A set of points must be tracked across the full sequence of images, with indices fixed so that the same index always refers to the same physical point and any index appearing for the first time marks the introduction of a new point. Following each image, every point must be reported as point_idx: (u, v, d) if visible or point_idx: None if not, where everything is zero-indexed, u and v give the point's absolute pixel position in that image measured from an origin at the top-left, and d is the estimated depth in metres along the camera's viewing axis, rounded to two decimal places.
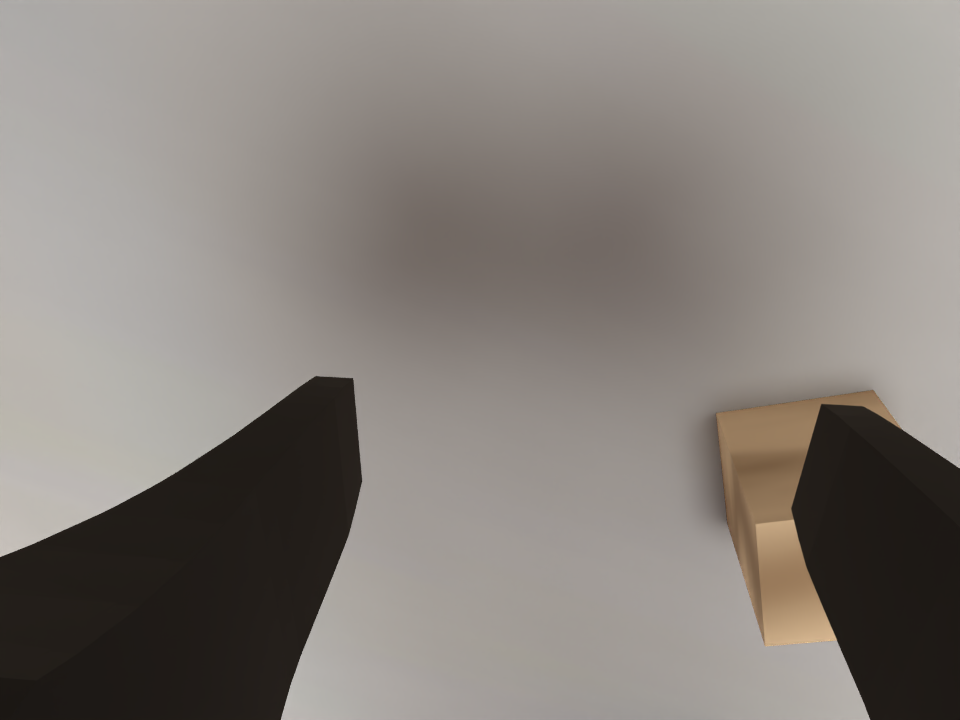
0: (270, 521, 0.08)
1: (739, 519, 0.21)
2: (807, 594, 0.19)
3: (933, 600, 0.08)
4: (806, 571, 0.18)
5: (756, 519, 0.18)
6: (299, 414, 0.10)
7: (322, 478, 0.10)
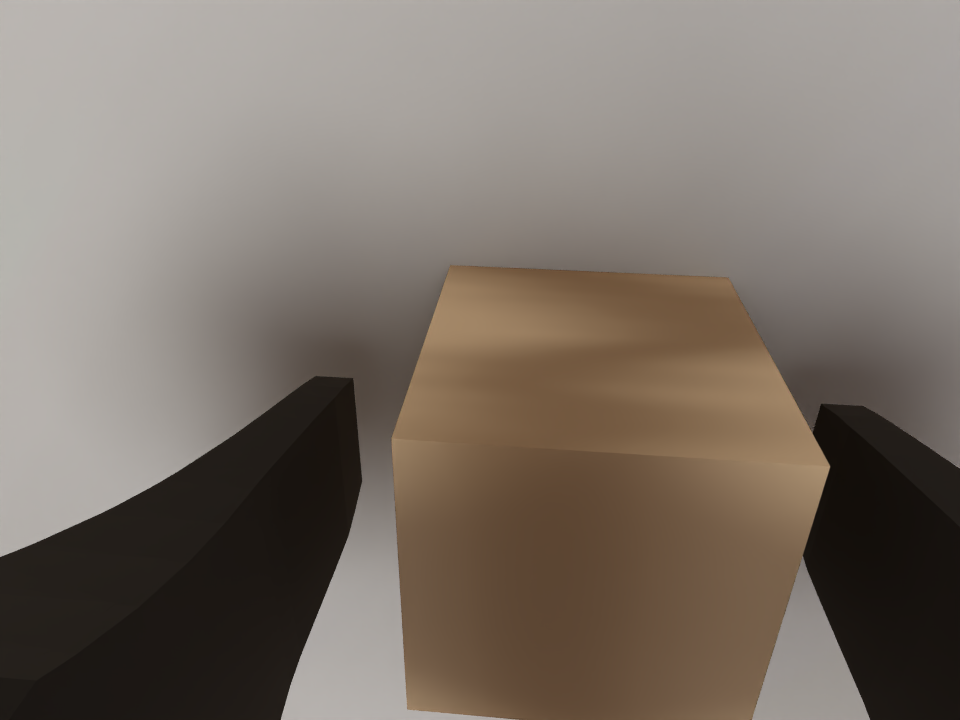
0: (270, 521, 0.08)
1: None
2: (609, 670, 0.09)
3: (933, 600, 0.08)
4: (545, 664, 0.09)
5: (408, 697, 0.10)
6: (299, 414, 0.10)
7: (322, 478, 0.10)
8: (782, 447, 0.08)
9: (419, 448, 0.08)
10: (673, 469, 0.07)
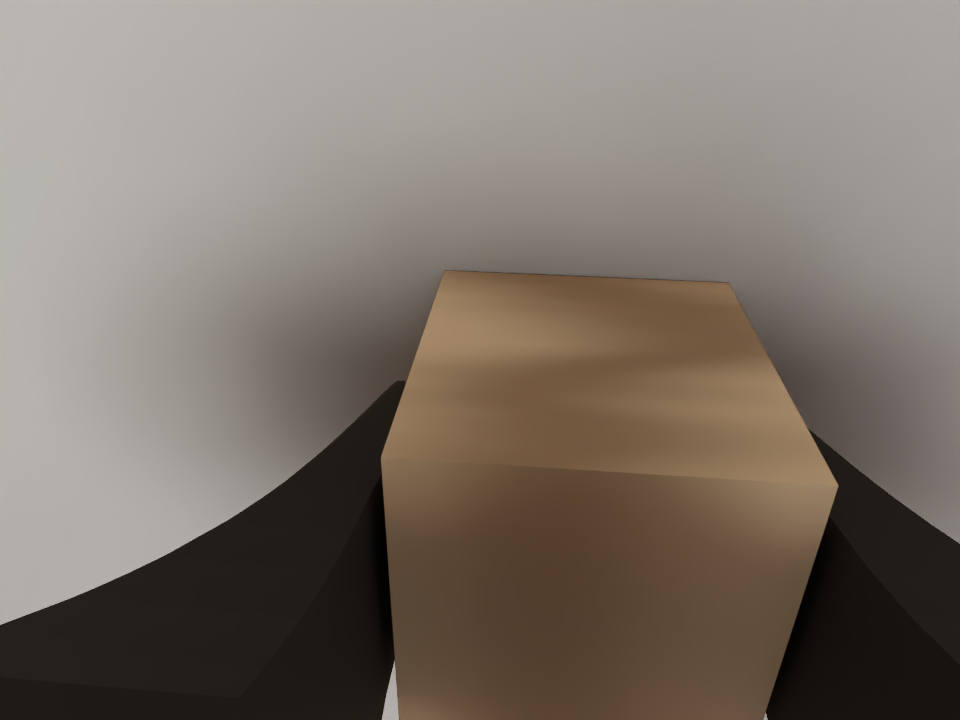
0: (378, 529, 0.08)
1: None
2: (609, 693, 0.09)
3: (811, 591, 0.08)
4: (542, 686, 0.09)
5: None
6: None
7: None
8: (788, 466, 0.07)
9: (410, 467, 0.07)
10: (674, 488, 0.07)
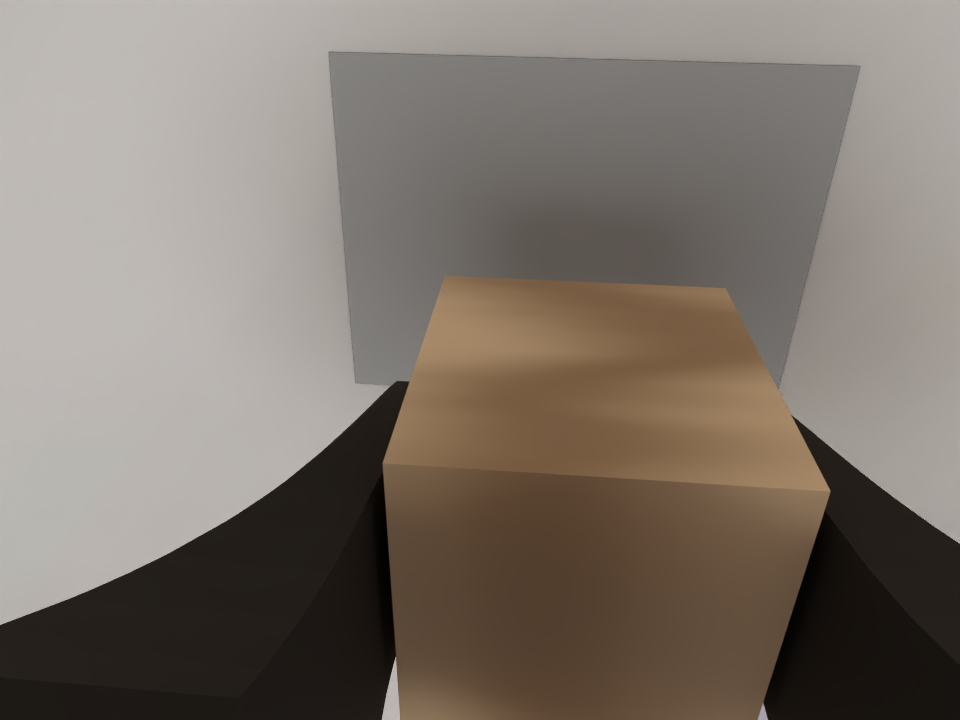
0: (378, 528, 0.08)
1: None
2: (606, 693, 0.09)
3: (811, 591, 0.08)
4: (540, 687, 0.09)
5: (403, 719, 0.10)
6: (394, 419, 0.09)
7: None
8: (782, 471, 0.07)
9: (411, 472, 0.08)
10: (669, 493, 0.07)
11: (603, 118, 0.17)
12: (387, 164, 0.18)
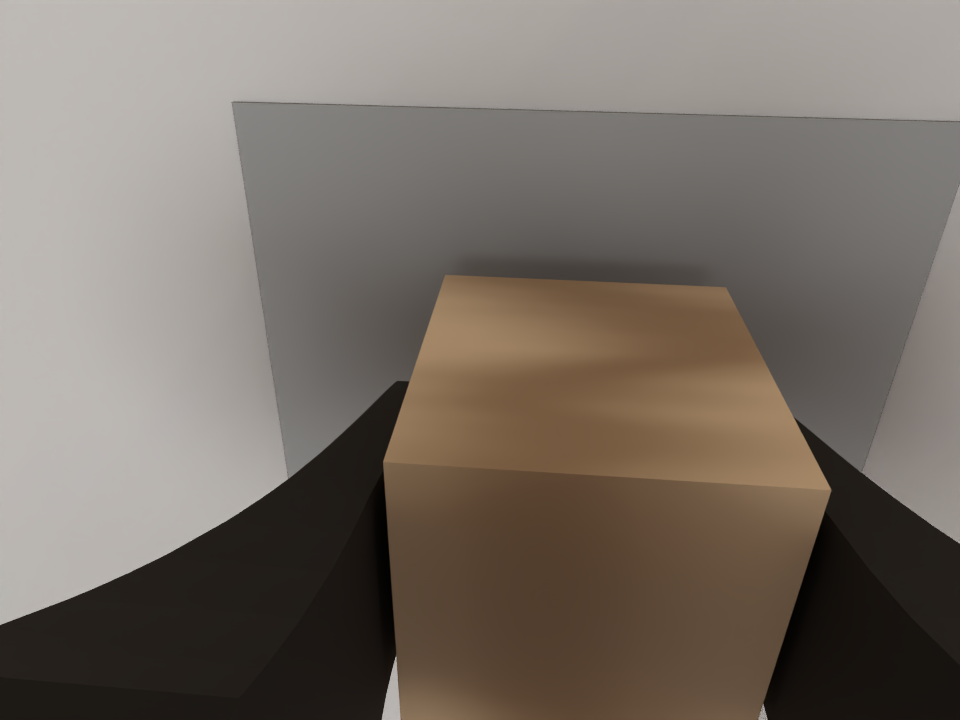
0: (378, 528, 0.08)
1: None
2: (607, 692, 0.09)
3: (811, 591, 0.08)
4: (541, 686, 0.09)
5: (403, 719, 0.10)
6: (394, 419, 0.09)
7: None
8: (782, 470, 0.07)
9: (411, 471, 0.08)
10: (671, 492, 0.07)
11: (614, 192, 0.12)
12: (321, 249, 0.13)
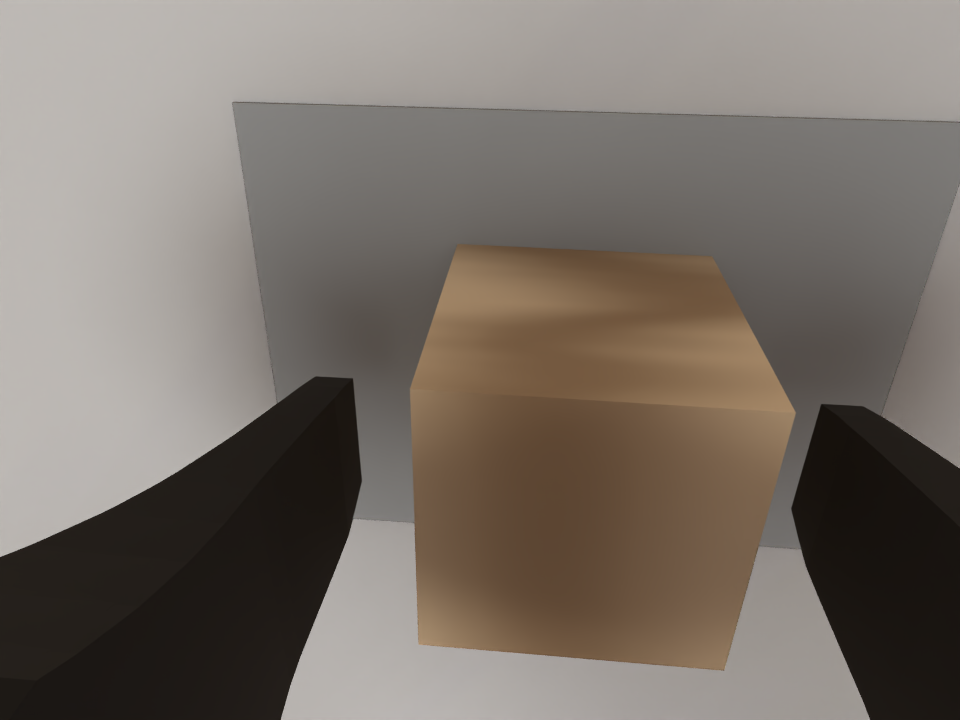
0: (270, 521, 0.08)
1: None
2: (602, 605, 0.10)
3: (933, 600, 0.08)
4: (544, 599, 0.10)
5: (419, 634, 0.11)
6: (299, 414, 0.10)
7: (322, 478, 0.10)
8: (755, 397, 0.09)
9: (434, 397, 0.09)
10: (658, 415, 0.09)
11: (614, 192, 0.12)
12: (321, 250, 0.13)
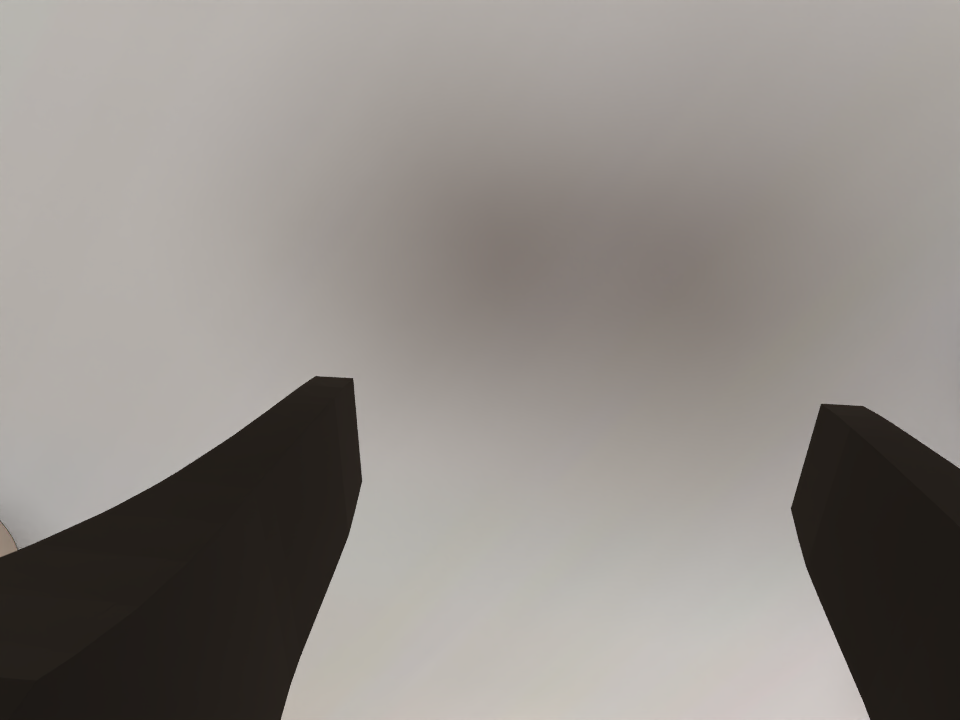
0: (270, 521, 0.08)
1: None
2: None
3: (933, 600, 0.08)
4: None
5: None
6: (299, 414, 0.10)
7: (322, 478, 0.10)
8: None
9: None
10: None
11: None
12: None
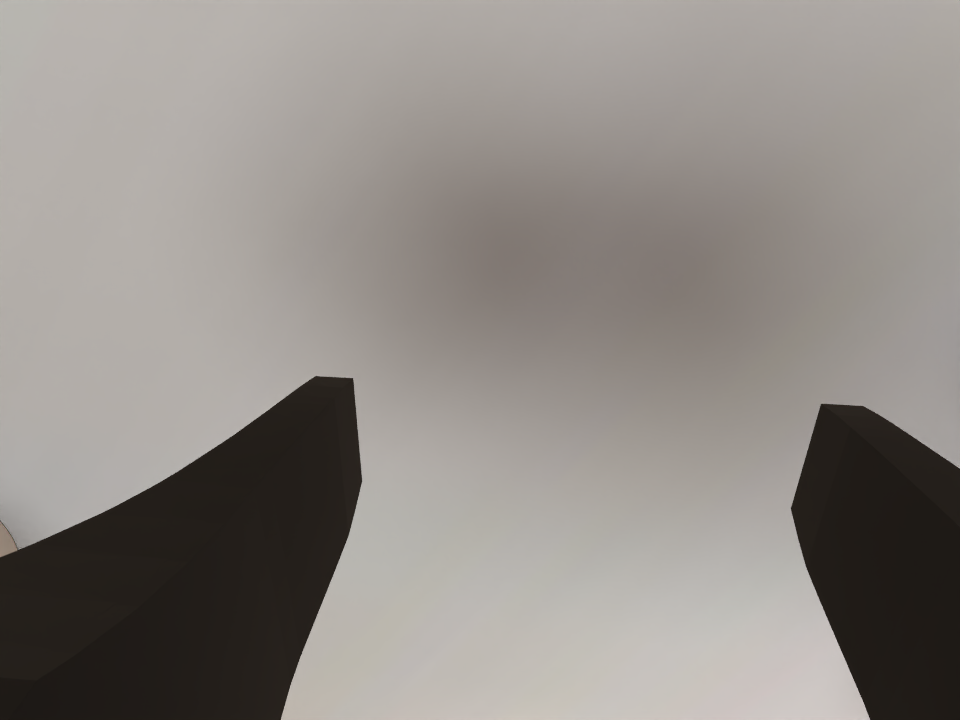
0: (270, 521, 0.08)
1: None
2: None
3: (933, 600, 0.08)
4: None
5: None
6: (299, 414, 0.10)
7: (322, 478, 0.10)
8: None
9: None
10: None
11: None
12: None
